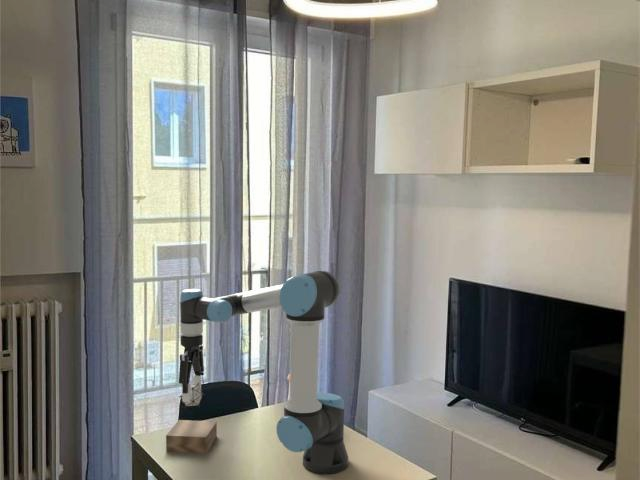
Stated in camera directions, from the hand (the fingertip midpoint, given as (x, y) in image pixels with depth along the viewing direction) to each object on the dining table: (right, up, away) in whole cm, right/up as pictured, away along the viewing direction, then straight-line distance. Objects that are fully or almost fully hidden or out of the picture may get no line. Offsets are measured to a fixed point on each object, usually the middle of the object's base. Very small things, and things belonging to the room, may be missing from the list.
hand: (191, 397), depth 215 cm
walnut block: (0, -17, +1) cm, 17 cm away
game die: (0, -3, 0) cm, 3 cm away
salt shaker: (+35, -15, +26) cm, 46 cm away
